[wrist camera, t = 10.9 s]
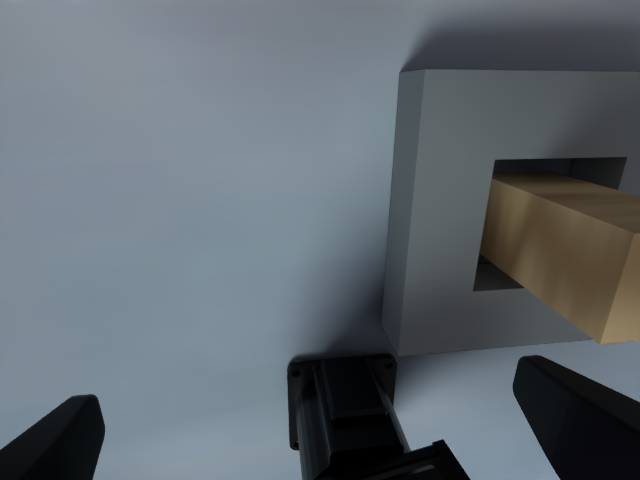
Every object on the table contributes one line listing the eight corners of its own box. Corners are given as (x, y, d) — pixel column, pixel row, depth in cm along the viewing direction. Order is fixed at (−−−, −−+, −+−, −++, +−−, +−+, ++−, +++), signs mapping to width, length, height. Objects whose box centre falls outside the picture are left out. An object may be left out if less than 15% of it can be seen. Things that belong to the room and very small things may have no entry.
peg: (535, 241, 22) (702, 334, 13) (468, 245, 21) (600, 344, 13) (549, 171, 20) (748, 226, 12) (479, 173, 20) (634, 233, 12)
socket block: (588, 307, 24) (630, 336, 21) (381, 323, 22) (397, 356, 20) (657, 75, 19) (724, 72, 16) (399, 72, 17) (425, 69, 15)
